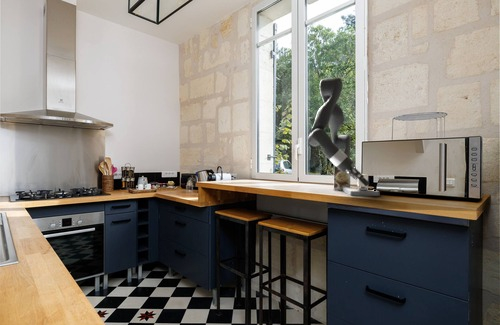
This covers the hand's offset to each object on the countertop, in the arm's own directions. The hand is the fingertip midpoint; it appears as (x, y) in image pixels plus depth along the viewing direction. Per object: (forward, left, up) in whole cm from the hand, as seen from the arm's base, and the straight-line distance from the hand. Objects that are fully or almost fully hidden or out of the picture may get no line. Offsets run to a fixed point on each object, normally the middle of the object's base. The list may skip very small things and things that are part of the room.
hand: (365, 184), depth 136 cm
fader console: (-6, -1, -5) cm, 8 cm away
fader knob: (0, -1, -3) cm, 3 cm away
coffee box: (-24, -7, -5) cm, 26 cm away
